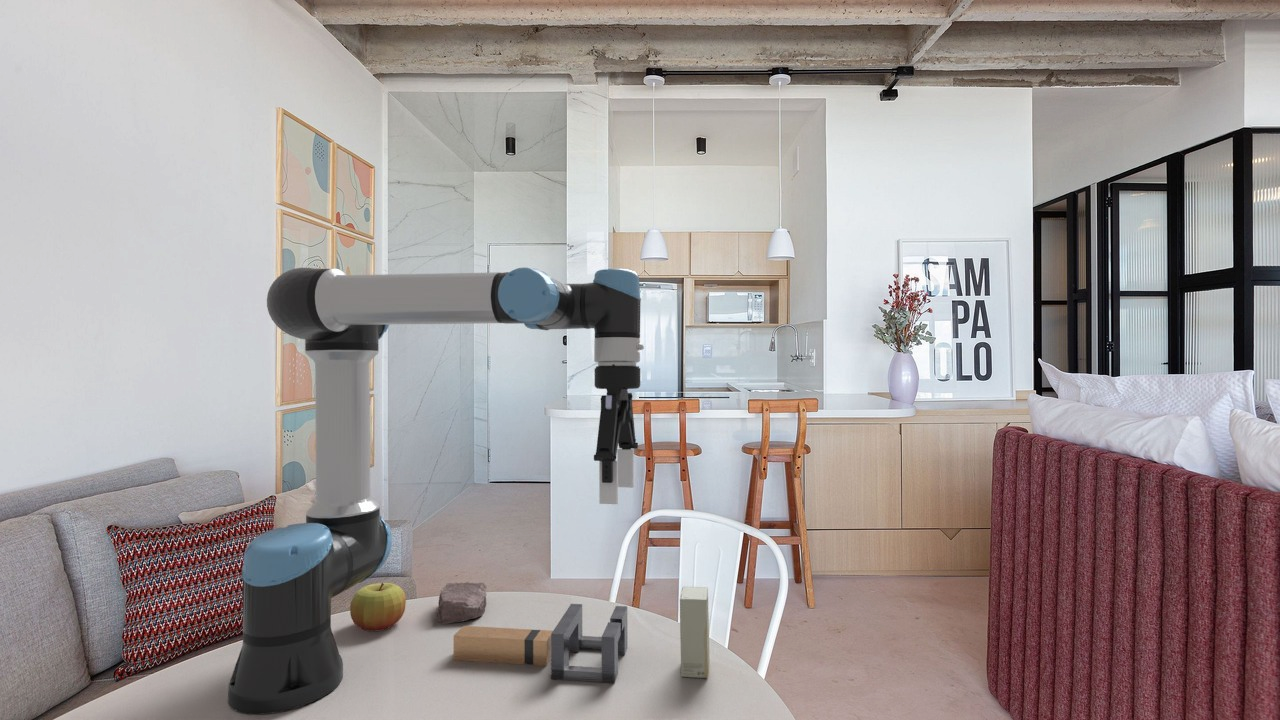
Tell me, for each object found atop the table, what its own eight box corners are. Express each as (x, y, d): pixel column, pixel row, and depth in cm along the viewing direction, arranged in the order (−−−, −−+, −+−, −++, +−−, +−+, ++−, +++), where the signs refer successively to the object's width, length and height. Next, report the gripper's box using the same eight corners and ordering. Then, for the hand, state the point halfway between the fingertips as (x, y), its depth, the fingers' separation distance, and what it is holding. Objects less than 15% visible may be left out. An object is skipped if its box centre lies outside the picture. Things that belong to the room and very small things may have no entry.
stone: (483, 622, 118) (483, 598, 118) (434, 626, 116) (434, 601, 117) (488, 600, 130) (488, 578, 130) (443, 603, 128) (443, 581, 128)
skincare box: (708, 679, 96) (707, 600, 96) (679, 677, 96) (679, 599, 96) (709, 660, 102) (709, 586, 102) (682, 658, 102) (682, 585, 103)
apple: (416, 618, 120) (416, 577, 120) (385, 639, 110) (385, 594, 110) (372, 614, 122) (372, 573, 122) (337, 634, 113) (338, 590, 113)
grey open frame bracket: (551, 679, 96) (551, 633, 96) (571, 643, 108) (571, 603, 108) (614, 683, 94) (614, 637, 95) (627, 647, 107) (627, 606, 107)
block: (453, 659, 103) (453, 635, 103) (463, 649, 106) (463, 625, 107) (546, 665, 100) (546, 640, 100) (553, 654, 104) (553, 630, 104)
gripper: (625, 363, 88) (625, 512, 88) (651, 365, 113) (651, 481, 112) (574, 363, 89) (574, 510, 89) (611, 365, 114) (611, 480, 113)
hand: (617, 495), depth 101 cm, fingers open, 13 cm apart
